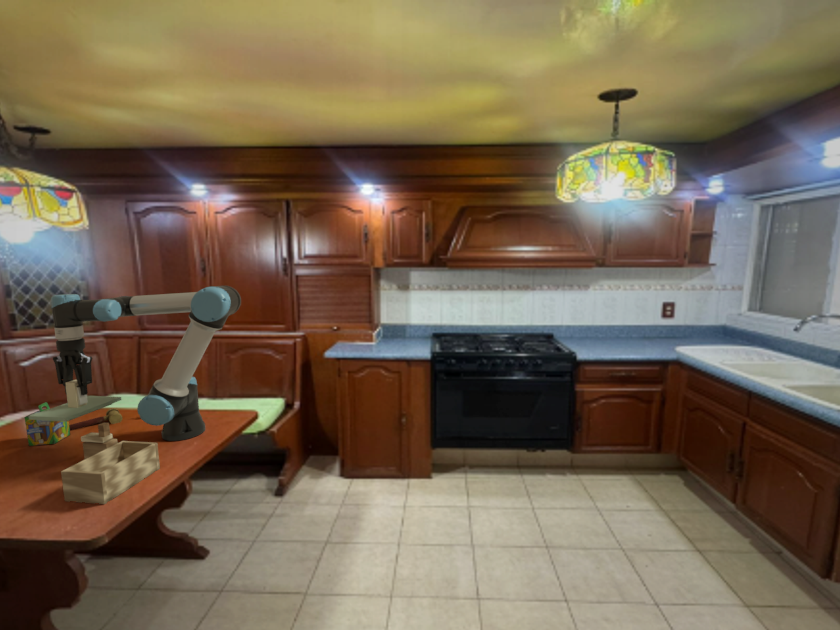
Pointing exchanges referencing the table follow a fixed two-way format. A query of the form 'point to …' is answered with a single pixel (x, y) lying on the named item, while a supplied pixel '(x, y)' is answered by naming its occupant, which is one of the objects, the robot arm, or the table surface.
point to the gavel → (99, 419)
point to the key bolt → (98, 434)
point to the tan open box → (109, 470)
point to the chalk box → (45, 429)
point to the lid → (74, 406)
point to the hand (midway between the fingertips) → (77, 403)
